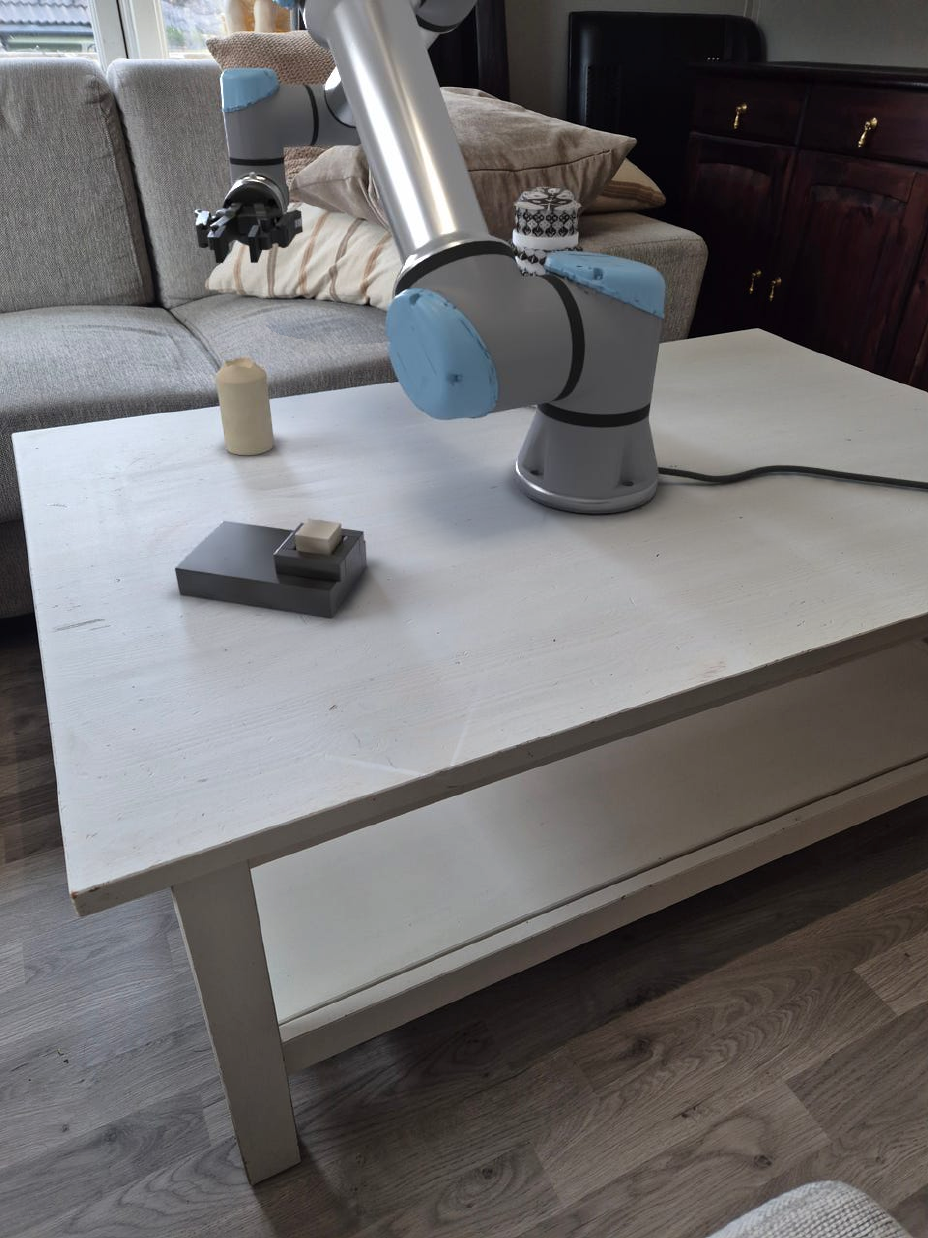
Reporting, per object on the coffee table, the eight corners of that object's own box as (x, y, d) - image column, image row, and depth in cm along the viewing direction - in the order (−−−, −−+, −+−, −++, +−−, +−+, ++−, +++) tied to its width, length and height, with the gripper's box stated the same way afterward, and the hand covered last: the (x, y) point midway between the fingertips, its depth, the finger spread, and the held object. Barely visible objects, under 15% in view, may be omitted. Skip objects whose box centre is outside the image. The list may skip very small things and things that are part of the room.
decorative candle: (533, 413, 113) (547, 199, 99) (487, 392, 119) (493, 187, 105) (584, 398, 118) (604, 191, 104) (537, 378, 124) (549, 181, 110)
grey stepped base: (371, 566, 81) (369, 522, 79) (336, 619, 74) (333, 573, 72) (226, 545, 84) (220, 502, 82) (179, 594, 77) (170, 549, 74)
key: (342, 540, 77) (341, 522, 76) (330, 557, 74) (328, 539, 73) (310, 536, 77) (308, 518, 76) (296, 552, 75) (294, 534, 74)
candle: (263, 458, 101) (253, 371, 95) (218, 453, 101) (205, 367, 96) (281, 439, 105) (272, 355, 99) (237, 435, 106) (226, 351, 100)
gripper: (187, 179, 115) (154, 213, 95) (313, 179, 116) (306, 213, 97) (196, 241, 119) (166, 285, 100) (318, 240, 120) (311, 284, 101)
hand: (235, 249), depth 98 cm, fingers open, 3 cm apart
